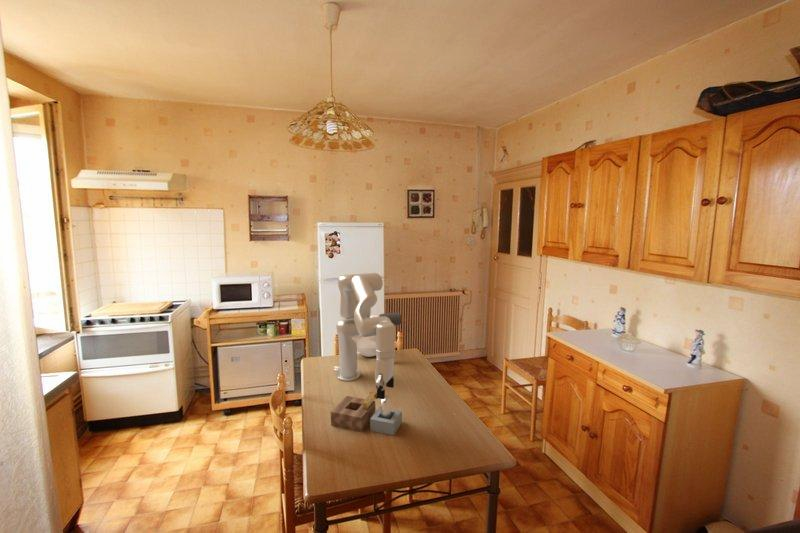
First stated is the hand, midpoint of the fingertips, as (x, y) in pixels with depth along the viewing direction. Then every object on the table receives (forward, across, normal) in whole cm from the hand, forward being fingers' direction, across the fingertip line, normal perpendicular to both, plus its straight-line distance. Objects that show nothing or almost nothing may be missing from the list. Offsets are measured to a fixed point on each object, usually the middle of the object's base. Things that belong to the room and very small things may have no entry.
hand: (385, 392), depth 149 cm
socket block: (+15, +1, -14) cm, 21 cm away
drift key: (+8, -4, -9) cm, 13 cm away
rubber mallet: (+16, -60, -21) cm, 66 cm away
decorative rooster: (+17, -66, -41) cm, 80 cm away
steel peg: (+14, +1, +1) cm, 14 cm away
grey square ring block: (+14, +1, +1) cm, 14 cm away
